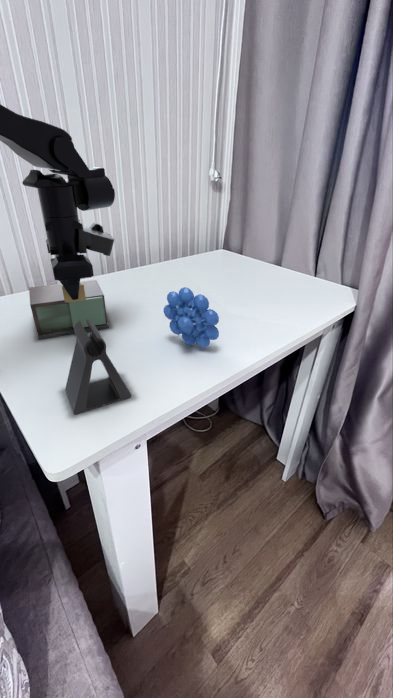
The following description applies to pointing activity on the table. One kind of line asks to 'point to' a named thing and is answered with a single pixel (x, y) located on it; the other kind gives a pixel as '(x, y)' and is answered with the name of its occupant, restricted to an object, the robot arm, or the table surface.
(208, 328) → the grapes
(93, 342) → the phone stand
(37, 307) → the cabinet
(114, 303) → the table surface
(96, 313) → the door
